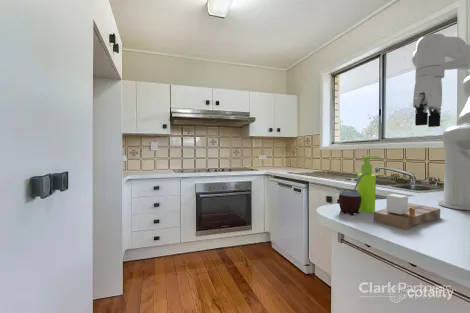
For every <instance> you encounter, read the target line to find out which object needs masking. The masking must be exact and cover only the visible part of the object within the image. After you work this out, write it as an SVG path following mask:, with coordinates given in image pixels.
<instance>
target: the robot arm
mask: <svg viewBox="0 0 470 313" xmlns="http://www.w3.org/2000/svg"><path fill="white" fill-rule="evenodd" d="M411 61H412V65H413V66H414V67H415V76H414V77H415V79H414V80H415V84H414V88H413V90H414V91H413V99H412V107H413V108H414V109H415V110H414V112H415V115H414V116H415V120H414V126H426V125H427V127H429V128H435V127H441V113H442V112H441V110H442V108H441V107H442V105H443V104H442V103H443V84H442V83H443V82H442V79H444V78H445V71H447V70H450V71H451V70H459V71H465V72H469V73H470V44H466V42H465V39H463V38H461V37H459V36H446V35H444V33H432V34H427V35H425V36H422V37H421V38H419V39H418V41H417V43H416V50H414V52H413V54H412V58H411ZM462 92H463V93H462V94H463V96H464V97H463V98H464V101H465V104H464V107H463V109H462V110H461V112H460V113H459V116H458V118H457V120H456V125H453V126H450V127H448V128H446V129H444V131H443V133H442V143H443V149H444V150H443V151H444V176H443V177H444V179H443V180H444V181H443V199H442V200H438V202H437V203H438V205H439V206H441V207H445V208H447V209H453V210H462V211H470V75H469V76H467V77H466V78H464V80H463V82H462ZM427 111H428V112H427Z"/></svg>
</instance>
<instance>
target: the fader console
mask: <svg viewBox="0 0 470 313" xmlns="http://www.w3.org/2000/svg"><path fill="white" fill-rule="evenodd" d="M386 209H387V208H384V209H383V208H382V209H380V210H375V212H373V215H372V216H373V217H372V218H373V219H372V222H375V223H379V224H382V225H384V226H385V225H386V226H390V227H394V228H397V229H401V230H405V231H407V230H410V229H412V228H416V227H418V226H421V225H424V224H427V223H429V222H432V221H435V220H437V219H440V218H441V208H440V207H439V208H438V207H433V206H427V205H421V204H417V203H410V202H408V213H404V214H396V213H392V212H387V211H386Z"/></svg>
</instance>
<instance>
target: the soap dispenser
mask: <svg viewBox="0 0 470 313" xmlns="http://www.w3.org/2000/svg"><path fill="white" fill-rule="evenodd" d="M361 158H363V159H364V161H363V162H364V163H362V164H361V168H360V169H361V172H360V173H357V180H356V182H357V181H358V178H359V177H360V176H361V175H362V174H364V173H366V172H368V173H367V174H365V175H364V176H363V177H361V180H360V181H359V183H358V185H357V188H356V190H357V191H359V193H360V194H361V204H360V208H359V212H363V213H374V212H375V211H376V190H377V188H376V186H377V185H376V184H377V183H376V182H377V180H376V179H377V175H376V174H374V173H373V165H372V163H371V164H370V159H371V158H372V159H373V158H374V159H380V156H376V155H362V156H361Z"/></svg>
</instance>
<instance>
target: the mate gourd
mask: <svg viewBox="0 0 470 313" xmlns="http://www.w3.org/2000/svg"><path fill="white" fill-rule="evenodd" d="M367 173H368V172H366V173H364V174H362V175H361V176H360V177H359V178H358V181H357V180H356V184H355V185H354V188H353V189H351V188H349V189H347V188H345V189H342V190H341V191H340V192H339V194H338V204H339V209H340V210H339V214H349V215H350V216H355V215H359V214H360V211H359V208H360V204H361V194H360V193H359V191H357V185H358V183H359V181H360V180H361V177H363V176H364V175H365V174H367ZM354 214H355V215H354Z"/></svg>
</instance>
